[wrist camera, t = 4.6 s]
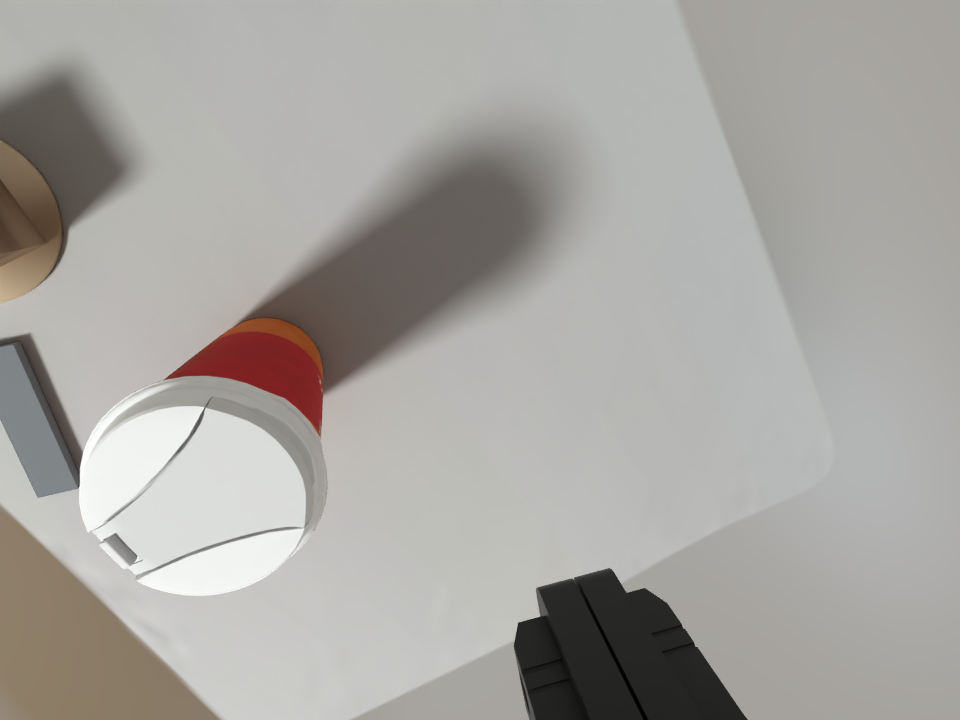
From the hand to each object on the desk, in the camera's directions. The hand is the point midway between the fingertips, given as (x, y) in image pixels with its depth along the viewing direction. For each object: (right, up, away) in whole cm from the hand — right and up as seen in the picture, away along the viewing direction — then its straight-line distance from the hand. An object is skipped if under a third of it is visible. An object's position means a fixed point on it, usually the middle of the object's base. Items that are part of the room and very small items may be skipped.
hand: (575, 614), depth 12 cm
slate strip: (-25, +2, +19) cm, 31 cm away
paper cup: (-13, +5, +20) cm, 25 cm away
